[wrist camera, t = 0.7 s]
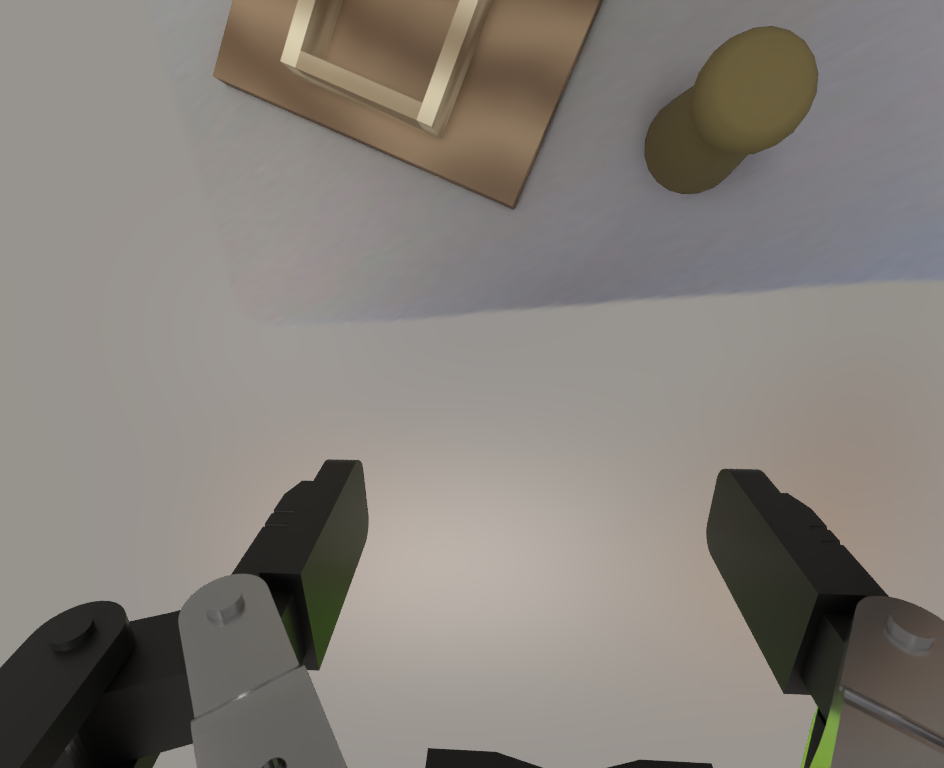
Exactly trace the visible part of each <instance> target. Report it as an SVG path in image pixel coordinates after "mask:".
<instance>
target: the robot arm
mask: <svg viewBox="0 0 944 768" xmlns="http://www.w3.org/2000/svg"><path fill="white" fill-rule="evenodd" d="M706 532H707V534H706V535H707V543H708V548H709V551H710V554H711V556H712V558H713V560H714V562H715V564H716V565H717V568H718V569H719V571H720V573H721V575H722V577H723V579H724V581H725V583H726V585H727V587H728V588H729V590H730V592H731V594H732V596H733V598H734V600H735V602H736V604H737V606H738V608H739V609H740V611H741V613H742V615H743V617H744V619H745V621H746V623H747V625H748V627H749V628H750V630H751V632H752V634H753V636H754V638H755V640H756V642H757V643H758V645H759V647H760V649H761V651H762V653H763V655H764V657H765V659H766V661H767V663H768V665H769V667H770V668H771V670H772V672H773V674H774V676H775V678H776V680H777V681H778V684H779V685H780V687H781V689H782V691H783V693H784V694H802V695H811V696H812V697H813V699H814V701H815V703H816V704H817V709H816V711H815V714H814V716H813V719H812V723H811V727H810V731H809V735H808V739H807V743H806V748H805V752H804V756H803V760H802V764H801V768H944V621H943V620H942V619H940V618H939V617H938V616H936V615H934V614H933V613H931V612H929V611H927V610H926V609H924V608H922V607H919V606H917V605H915V604H913V603H910V602H907V601H904V600H901V599H897V598H893V597H889V596H888V595H887V594H886V593H885V592H884V591H883V589H882V588H881V587H880V586H879V585H878V584H877V583H876V581H875V580H874V579H873V578H872V577H871V576H870V575H869V574H868V572H867V571H866V570H865V569H864V568H863V567H862V566H861V565H860V563H859V562H858V561H857V560H856V559H855V558H854V557H853V555H852V554H851V553H850V552H849V551H848V550H847V549H846V548H845V547H844V545H840V541H839V540H838V539H837V537H836V536H835V535H834V534H833V533H832V532H831V531H830V530H827V526H826V525H825V524H824V523H823V522H822V520H821V519H820V518H819V517H818V516H817V515H816V514H815V513H814V511H813V510H812V509H810V508H809V507H807V506H806V505H804V504H803V503H802V502H800V501H799V500H797V499H795V498H794V497H792V496H791V495H789V494H788V493H780V492H779V490H778V489H777V488H776V487H775V486H774V484H773V483H772V482H771V481H770V480H769V478H768V477H767V476H766V475H765V474H764V473H763V472H762V471H761V470H752V469H723V470H721V471H720V473H719V474H718V477H717V481H716V485H715V490H714V495H713V499H712V504H711V509H710V514H709V518H708V523H707V530H706ZM367 533H368V508H367V499H366V490H365V482H364V473H363V467H362V463H361V461H359V460H326V461H325V462H324V464H323V466H322V467H321V469H320V471H319V472H318V474H317V476H316V478H315V479H314V481H301V482H300V483H299V484H298V485H296V486H295V487H294V488H292V489H291V490H289V491H288V492H287V493H285V494H284V496H283V497H282V499H281V500H280V502H279V503H278V505H277V506H276V508H275V509H274V513H272V514H271V515H270V517H269V518H268V520H267V521H266V523H265V527H263V528H262V529H261V531H260V532H259V533H258V535H257V537H256V538H255V539H254V541H253V543H252V544H251V546H250V547H249V549H248V550H247V552H246V553H245V555H244V556H243V558H242V559H241V561H240V562H239V564H238V565H237V567H236V568H235V570H234V571H233V573H232V574H231V575H229V576H225V577H222V578H219V579H216V580H214V581H212V582H210V583H208V584H206V585H204V586H203V587H201V588H200V589H199V590H197V591H196V592H195V593H194V594H193V595H191V596H190V598H189V599H188V600H187V601H186V602H185V604H184V605H183V607H182V609H181V610H179V611H175V612H172V613H167V614H162V615H158V616H154V617H148V618H144V619H139V620H135V621H130V622H129V620H128V618H127V616H126V613H125V610H124V608H123V607H122V606H121V605H119V604H117V603H115V602H111V601H95V602H90V603H86V604H82V605H79V606H76V607H74V608H71V609H69V610H67V611H64V612H62V613H60V614H59V615H57V616H55V617H53V618H52V619H50V620H49V621H47V622H46V623H44V624H43V625H42V626H40V627H39V628H38V629H37V630H36V631H35V632H34V633H33V634H32V635H31V636H29V638H28V639H27V640H26V641H25V642H24V643H23V644H22V645H21V646H20V647H19V648H18V649H17V651H16V652H15V653H14V654H13V655H12V656H11V657H10V658H9V659H8V660H7V661H6V662H5V664H4V665H3V666H2V667H1V668H0V768H152V767H153V765H154V764H155V762H156V759H157V758H158V756H159V754H160V752H164V751H167V750H171V749H174V748H178V747H182V746H185V745H189V744H192V743H193V745H194V752H195V758H196V764H197V768H347V766H346V763H345V761H344V758H343V756H342V753H341V751H340V749H339V746H338V744H337V741H336V739H335V736H334V734H333V732H332V729H331V727H330V724H329V722H328V719H327V717H326V715H325V712H324V710H323V707H322V705H321V703H320V700H319V698H318V695H317V693H316V690H315V688H314V686H313V683H312V681H311V678H310V676H309V673H308V671H307V670H319V669H320V667H321V664H322V661H323V658H324V655H325V653H326V650H327V647H328V644H329V642H330V639H331V636H332V634H333V631H334V628H335V625H336V623H337V620H338V617H339V614H340V611H341V609H342V606H343V603H344V601H345V598H346V595H347V592H348V590H349V587H350V584H351V581H352V579H353V576H354V573H355V570H356V568H357V565H358V562H359V559H360V557H361V554H362V551H363V548H364V545H365V543H366V539H367ZM426 768H542V767H539V766H536V765H533V764H530V763H527V762H524V761H521V760H518V759H515V758H512V757H509V756H506V755H503V754H500V753H498V752H487V751H468V750H449V749H431V748H428V753H427V760H426ZM609 768H713V767H712V764H710V763H709V764H708V763H691V762H673V761H672V762H671V761H653V760H637V761H633V762H629V763H625V764H621V765H617V766H613V767H609Z"/></svg>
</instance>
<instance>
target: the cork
mask: <svg viewBox="0 0 944 768" xmlns="http://www.w3.org/2000/svg"><path fill="white" fill-rule="evenodd" d="M817 82H818V70H817V66H816V62H815V57H814V55H813V53H812V52H811V50H810V49H809V47H808V45H807V44H806V42H805V41H804V40H803V39H801V38H800V37H798V36H797V35H796V34H794V33H793V32H791V31H790V30H786V29H782V28H778V27H774V26H768V27H757V28H752V29H750V30H748V31H745V32H743V33H741V34H738V35H736V36H734V37H732V38H730V39H729V40H727V41H726V42H725V43H724V44H723V45H721V46H720V47H719V48H718V49H716V50H715V51H714V52H713V54H712V55H711V56H710V58H709V59H708V61H707V62H706V64H705V65H704V66H703V68H702V69H701V71H700V72H699V74H698V77H697V79H696V82H695V85H694V86H693V87H691V88H690V89H688V90H687V91H686V92H684V93H683V94H681V95H680V96H678V97H677V98H676V99H674V100H673V101H671V102H670V103H669V104H668V105H667V106H665V107H664V108H663V109H662V110H660V111H659V113H658V114H657V116H656V117H655V119H654V120H653V121H652V123H651V124H650V127H649V130H648V133H647V136H646V139H645V159H646V162H647V166H648V169H649V171H650V172H651V174H652V175H653V177H654V178H655V180H656V181H657V182H658V183H660V184H661V185H662V186H664V187H665V188H667V189H668V190H670V191H674V192H678V193H681V194H692V193H700V192H703V191H705V190H708V189H711V188H713V187H714V186H716V185H717V184H718V183H720V182H721V181H722V180H724V179H725V178H726V177H727V176H728V175H729V174H730V173H731V172H732V171H733V170H734V169H735V168H736V167H737V166H738V165H739V164H740V162H741V161H742V160H743V159H744V158H745V157H746V156H747V155H748V154H755V153H757V152H760V151H762V150H765V149H768V148H770V147H772V146H774V145H776V144H778V143H779V142H781V141H782V140H783V139H785V138H786V137H787V136H789V135H790V134H791V133H793V132H794V130H795V129H796V128H797V126H798V125H799V124H800V122H801V121H802V120H803V119H804V117H805V116H806V115H807V113H808V112H809V110H810V107H811V105H812V102H813V100H814V97H815V95H816V92H817Z"/></svg>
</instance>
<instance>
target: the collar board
mask: <svg viewBox="0 0 944 768" xmlns="http://www.w3.org/2000/svg"><path fill="white" fill-rule="evenodd" d="M601 2H602V0H233V1H232V5H231V9H230V13H229V17H228V20H227V24H226V28H225V32H224V36H223V39H222V43H221V47H220V51H219V55H218V58H217V62H216V66H215V70H214V74H213V76H214V77H215V78H217V79H219V80H220V81H222V82H223V83H225V84H227V85H229V86H231V87H234V88H236V89H238V90H241V91H243V92H245V93H247V94H250V95H252V96H254V97H257V98H259V99H261V100H264V101H266V102H268V103H270V104H273V105H275V106H277V107H280V108H282V109H284V110H286V111H289V112H291V113H293V114H296V115H298V116H300V117H303V118H305V119H307V120H309V121H312V122H314V123H316V124H319V125H321V126H323V127H325V128H328V129H330V130H332V131H335V132H337V133H339V134H341V135H344V136H346V137H348V138H351V139H353V140H355V141H358V142H360V143H362V144H364V145H367V146H369V147H371V148H374V149H376V150H378V151H380V152H383V153H385V154H387V155H390V156H392V157H394V158H397V159H399V160H401V161H403V162H406V163H408V164H410V165H413V166H415V167H417V168H419V169H422V170H424V171H426V172H429V173H431V174H433V175H436V176H438V177H440V178H442V179H445V180H447V181H449V182H452V183H454V184H456V185H458V186H461V187H463V188H465V189H468V190H470V191H472V192H475V193H477V194H479V195H481V196H484V197H486V198H488V199H491V200H493V201H495V202H497V203H500V204H502V205H504V206H507V207H509V208H511V209H514V208H515V205H516V203H517V201H518V198H519V196H520V194H521V191H522V189H523V186H524V184H525V182H526V179H527V177H528V175H529V172H530V170H531V168H532V165H533V163H534V160H535V158H536V156H537V153H538V151H539V149H540V146H541V144H542V142H543V139H544V137H545V134H546V132H547V130H548V127H549V125H550V123H551V120H552V118H553V116H554V113H555V111H556V108H557V106H558V104H559V101H560V99H561V97H562V94H563V92H564V90H565V87H566V85H567V82H568V80H569V78H570V75H571V73H572V71H573V68H574V66H575V64H576V61H577V59H578V57H579V54H580V52H581V49H582V47H583V45H584V42H585V40H586V38H587V35H588V33H589V31H590V28H591V26H592V23H593V21H594V19H595V16H596V14H597V12H598V9H599V7H600V5H601Z"/></svg>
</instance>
